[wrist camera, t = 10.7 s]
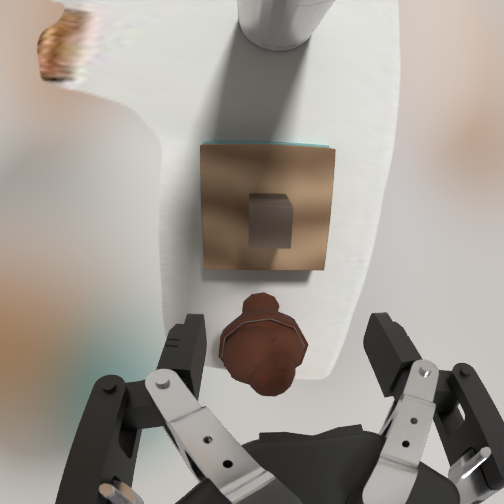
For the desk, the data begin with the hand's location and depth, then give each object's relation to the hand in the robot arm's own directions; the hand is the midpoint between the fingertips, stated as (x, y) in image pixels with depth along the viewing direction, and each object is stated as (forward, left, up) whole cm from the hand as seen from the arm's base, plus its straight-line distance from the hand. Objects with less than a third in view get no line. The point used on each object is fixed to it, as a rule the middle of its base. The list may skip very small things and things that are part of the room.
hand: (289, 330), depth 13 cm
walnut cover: (0, 0, -24) cm, 24 cm away
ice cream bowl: (+16, 0, -25) cm, 30 cm away
